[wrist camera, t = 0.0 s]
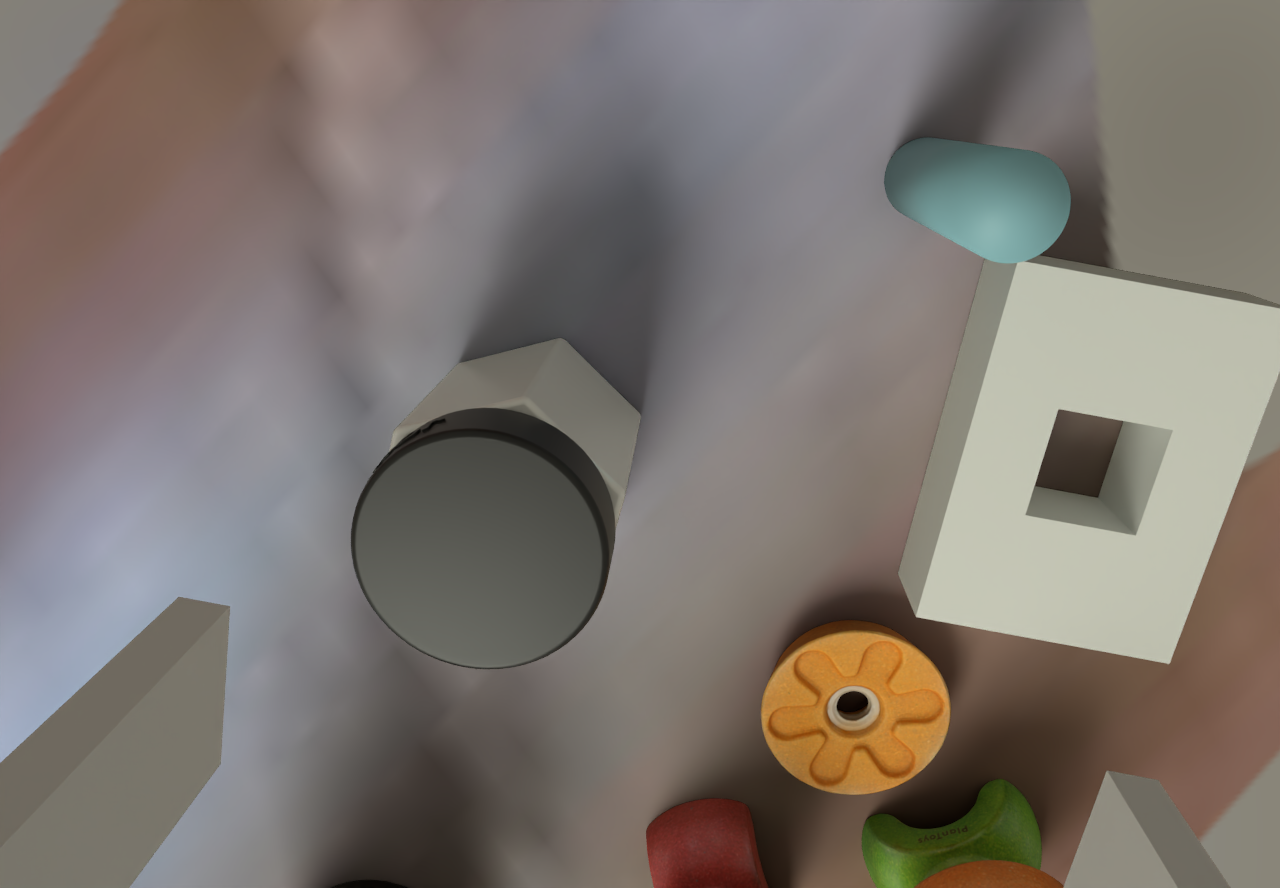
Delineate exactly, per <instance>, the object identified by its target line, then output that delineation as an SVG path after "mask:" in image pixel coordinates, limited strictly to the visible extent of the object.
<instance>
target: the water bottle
mask: <svg viewBox="0 0 1280 888" xmlns="http://www.w3.org/2000/svg"><path fill="white" fill-rule="evenodd" d="M332 888H406V887H403V886H400V885H397V884H393V883H389V882H383V881H373V880H363V881H353V882H348V883H344V884H340V885H337V886H335V887H332Z"/></svg>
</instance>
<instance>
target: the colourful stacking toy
mask: <svg viewBox="0 0 1280 888" xmlns="http://www.w3.org/2000/svg"><path fill="white" fill-rule="evenodd" d="M850 691H857V692H860V693H862V694H864V695H865V696H866V697H867V699H868V705H867V706H865V707H864V708H862V709H860V710H858V711H855V712H844V711H840V710H838V709H837V702H838V700H839V698H840V697H841V695H843V694H844V693H847V692H850ZM950 716H951V702H950V698H949V693H948V689H947V686H946V683H945V681H944V679H943V677H942V675H941V673H940V672H939V670H938V669H937V667H936V666H935V665H934V663H933V662H932V661H931V660H930V659H929V658H928V657H927V656H926V655H925V654H924V653H923V652H921V651H920V650H919V649H918V648H917V647H915V646H914V645H913V644H912V643H910V642H909V641H908V640H907V639H906V638H904V637H903V636H902V635H900V634H899V633H897V632H895V631H893V630H892V629H890V628H888V627H885V626H882V625H879V624H876V623H872V622H867V621H859V620H842V621H835V622H831V623H827V624H824V625H821V626H819V627H816V628H813V629H811V630H810V631H808V632H806V633H805V634H803V635H802V636H800V637H799V638H797V639H796V640H795V641H794V642H793V643H792V644H791V645H790V646H789V647H788V648H787V649H786V650H785V651H784V653H783V654H782V655H781V657H780V658H779V660H778V662H777V664H776V666H775V668H774V670H773V672H772V675H771V677H770V679H769V682H768V684H767V686H766V689H765V692H764V695H763V699H762V705H761V722H762V730H763V733H764V736H765V739H766V742H767V744H768V746H769V748H770V750H771V751H772V753H773V754H774V756H775V757H776V759H777V760H778V761H779V763H780V764H781V765H782V766H783V767H784V768H785V769H786V770H787V771H788V772H789V773H791V774H792V775H793V776H795V777H796V778H797V779H799V780H801V781H802V782H804V783H806V784H808V785H810V786H812V787H815V788H817V789H820V790H823V791H827V792H831V793H837V794H848V795H860V794H871V793H876V792H880V791H884V790H887V789H890V788H893V787H896V786H898V785H900V784H902V783H904V782H906V781H908V780H910V779H911V778H913V777H914V776H915V775H917V774H918V773H919V772H920V771H921V770H923V769H924V768H925V767H926V766H927V765H928V764H929V763H930V762H931V761H932V759H933V758H934V757H935V756H936V754H937V753H938V751H939V750H940V748H941V746H942V745H943V742H944V740H945V737H946V735H947V732H948V729H949V724H950ZM646 839H647V852H648V859H649V865H650V871H651V876H652V880H653V885H654V888H768V885H767V882H766V880H765V877H764V874H763V870H762V866H761V863H760V859H759V854H758V850H757V846H756V839H755V833H754V827H753V822H752V818H751V814H750V811H749V808H748V807H747V805H746V804H744V803H742V802H739V801H735V800H730V799H719V798H711V799H700V800H695V801H690V802H687V803H683V804H681V805H678V806H676V807H673V808H671V809H670V810H668V811H666V812H664V813H663V814H661V815H660V816H659V817H657V818H656V819H655V820H654V821H653V822H652V823H651V824H650V825H649V826H648V828H647V831H646ZM862 851H863V856H864V860H865V863H866V866H867V869H868V871H869V874H870V876H871V878H872V880H873V882H874V883H875V885H876V887H877V888H1063V887H1064V886H1063V885H1062V884H1061V883H1060V882H1059V881H1057V880H1056V879H1054V878H1053V877H1051V876H1050V875H1048V874H1047V873H1045V872H1043V871H1040V867H1041V855H1042V848H1041V837H1040V832H1039V827H1038V824H1037V821H1036V818H1035V816H1034V813H1033V810H1032V808H1031V806H1030V805H1029V803H1028V802H1027V800H1026V799H1025V797H1024V796H1023V795H1022V794H1021V793H1020V791H1019V790H1018V789H1016V788H1015V787H1014V786H1013V785H1012V784H1011V783H1009V782H1008V781H1006V780H1003V779H996V780H993V781H990V782H988V783H987V784H986V785H984V787H983V788H982V789H981V790H980V792H979V794H978V798H977V801H976V804H975V805H974V806H973V808H972V809H971V810H970V812H969V813H968V814H966V815H965V816H964V817H963V818H961V819H959V820H958V821H956V822H954V823H952V824H950V825H947V826H944V827H940V828H933V829H917V828H912V827H909V826H907V825H905V824H903V823H902V822H900V821H899V820H898V819H896V818H895V817H894V816H891V815H888V814H877V815H873V816H871V817H870V818H868V819H867V820H866V822H865V824H864V828H863V833H862Z"/></svg>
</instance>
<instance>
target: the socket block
mask: <svg viewBox="0 0 1280 888" xmlns="http://www.w3.org/2000/svg"><path fill="white" fill-rule="evenodd" d="M1279 372H1280V305H1278V304H1276V303H1273V302H1270V301H1267V300H1263V299H1261V298H1258V297H1255V296H1252V295H1249V294H1246V293H1241V292H1236V291H1231V290H1226V289H1220V288H1215V287H1210V286H1204V285H1198V284H1193V283H1187V282H1182V281H1177V280H1171V279H1166V278H1160V277H1155V276H1150V275H1144V274H1138V273H1133V272H1128V271H1123V270H1117V269H1112V268H1106V267H1101V266H1095V265H1090V264H1085V263H1079V262H1074V261H1068V260H1063V259H1057V258H1052V257H1047V256H1041V255H1038V256H1036V257H1034V258H1032V259H1029V260H1027V261H1023V262H1019V263H997V262H993V261H990V260H988V259H985V260H984V264H983V267H982V271H981V274H980V278H979V282H978V285H977V289H976V293H975V296H974V300H973V303H972V307H971V311H970V314H969V318H968V321H967V325H966V329H965V332H964V336H963V340H962V343H961V347H960V350H959V354H958V358H957V361H956V365H955V369H954V372H953V376H952V379H951V383H950V387H949V390H948V394H947V397H946V401H945V405H944V408H943V412H942V416H941V419H940V423H939V426H938V430H937V434H936V437H935V441H934V444H933V448H932V452H931V455H930V459H929V463H928V466H927V470H926V473H925V477H924V481H923V484H922V488H921V491H920V495H919V499H918V502H917V506H916V510H915V513H914V517H913V520H912V524H911V528H910V531H909V535H908V538H907V542H906V546H905V549H904V553H903V557H902V560H901V564H900V567H899V571H898V575H899V578H900V580H901V582H902V585H903V587H904V590H905V592H906V595H907V597H908V599H909V602H910V604H911V607H912V609H913V611H914V614H915V616H916V617H919V618H924V619H929V620H935V621H940V622H946V623H951V624H956V625H962V626H967V627H973V628H978V629H983V630H989V631H994V632H1000V633H1005V634H1011V635H1016V636H1021V637H1027V638H1032V639H1038V640H1043V641H1048V642H1054V643H1059V644H1065V645H1070V646H1075V647H1081V648H1086V649H1092V650H1097V651H1103V652H1108V653H1113V654H1119V655H1124V656H1130V657H1135V658H1140V659H1146V660H1151V661H1157V662H1162V663H1167V664H1170V661H1171V658H1172V656H1173V653H1174V650H1175V648H1176V645H1177V642H1178V640H1179V637H1180V634H1181V632H1182V629H1183V626H1184V624H1185V621H1186V619H1187V616H1188V613H1189V611H1190V608H1191V605H1192V603H1193V600H1194V597H1195V595H1196V592H1197V589H1198V587H1199V584H1200V581H1201V579H1202V576H1203V573H1204V571H1205V568H1206V565H1207V563H1208V560H1209V558H1210V555H1211V552H1212V550H1213V547H1214V544H1215V542H1216V539H1217V536H1218V534H1219V531H1220V528H1221V526H1222V523H1223V520H1224V518H1225V515H1226V512H1227V510H1228V507H1229V505H1230V502H1231V499H1232V497H1233V494H1234V491H1235V489H1236V486H1237V483H1238V481H1239V478H1240V475H1241V473H1242V470H1243V467H1244V465H1245V462H1246V459H1247V457H1248V454H1249V451H1250V448H1251V446H1252V444H1253V441H1254V438H1255V435H1256V433H1257V430H1258V427H1259V425H1260V422H1261V420H1262V417H1263V414H1264V412H1265V409H1266V406H1267V404H1268V401H1269V398H1270V396H1271V393H1272V390H1273V388H1274V385H1275V382H1276V380H1277V377H1278V375H1279ZM1058 409H1061V410H1067V411H1072V412H1078V413H1083V414H1089V415H1094V416H1099V417H1105V418H1110V419H1116V420H1121V421H1123V424H1122V427H1121V430H1120V433H1119V436H1118V439H1117V442H1116V445H1115V448H1114V451H1113V454H1112V457H1111V460H1110V463H1109V466H1108V469H1107V472H1106V475H1105V478H1104V481H1103V484H1102V487H1101V490H1100V493H1099V496H1098V498H1096V497H1091V496H1085V495H1080V494H1075V493H1069V492H1064V491H1058V490H1053V489H1048V488H1042V487H1037V486H1035V483H1036V480H1037V476H1038V473H1039V470H1040V467H1041V464H1042V460H1043V457H1044V454H1045V451H1046V448H1047V444H1048V441H1049V438H1050V435H1051V432H1052V428H1053V425H1054V422H1055V419H1056V416H1057V412H1058Z"/></svg>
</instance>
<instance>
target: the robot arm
mask: <svg viewBox="0 0 1280 888" xmlns="http://www.w3.org/2000/svg"><path fill="white" fill-rule="evenodd" d="M229 615H230V606H225V605H220V604H214V603H209V602H204V601H198V600H193V599H188V598H182V597H178V598H177V599H176V600H175V601H174V602H173V603H172V604H171V605H170V606H169V607H167V608H166V609H165V610H164V611H163V612H162V613H161V614H160V615H159V616H158V617H157V618H156V619H155V620H154V621H152V622H151V623H150V624H149V625H148V626H147V627H146V628H145V629H144V630H143V631H142V632H141V633H140V634H138V635H137V636H136V637H135V638H134V639H133V640H132V641H131V642H130V643H129V644H128V645H127V646H126V647H125V648H123V649H122V650H121V651H120V652H119V653H118V654H117V655H116V656H115V657H114V658H113V659H112V660H111V661H109V662H108V663H107V664H106V665H105V666H104V667H103V668H102V669H101V670H100V671H99V672H98V673H97V674H96V675H94V676H93V677H92V678H91V679H90V680H89V681H88V682H87V683H86V684H85V685H84V686H83V687H82V688H81V689H79V690H78V691H77V692H76V693H75V694H74V695H73V696H72V697H71V698H70V699H69V700H68V701H67V702H65V703H64V704H63V705H62V706H61V707H60V708H59V709H58V710H57V711H56V712H55V713H54V714H53V715H52V716H50V717H49V718H48V719H47V720H46V721H45V722H44V723H43V724H42V725H41V726H40V727H39V728H38V729H36V730H35V731H34V732H33V733H32V734H31V735H30V736H29V737H28V738H27V739H26V740H25V741H24V742H23V743H21V744H20V745H19V746H18V747H17V748H16V749H15V750H14V751H13V752H12V753H11V754H10V755H9V756H7V757H6V758H5V759H4V760H3V761H2V762H1V763H0V888H129V887H130V886H131V885H132V883H133V882H134V881H135V879H136V878H137V876H138V875H139V874H140V872H141V871H142V870H143V868H144V867H145V866H146V864H147V863H148V862H149V860H150V859H151V857H152V856H153V855H154V853H155V852H156V851H157V849H158V848H159V847H160V845H161V844H162V843H163V841H164V840H165V838H166V837H167V836H168V834H169V833H170V832H171V830H172V829H173V828H174V826H175V825H176V824H177V822H178V821H179V819H180V818H181V817H182V815H183V814H184V813H185V811H186V810H187V809H188V807H189V806H190V805H191V803H192V802H193V800H194V799H195V798H196V796H197V795H198V794H199V792H200V791H201V790H202V788H203V787H204V786H205V784H206V783H207V781H208V780H209V779H210V777H211V776H212V775H213V773H214V772H215V771H216V769H217V768H218V767H219V765H220V764H221V749H222V732H223V715H224V698H225V682H226V665H227V648H228V631H229ZM1063 888H1230V886H1229V885H1228V883H1227V882H1226V880H1225V879H1224V877H1223V876H1222V874H1221V873H1220V871H1219V870H1218V868H1217V867H1216V865H1215V864H1214V862H1213V861H1212V860H1211V858H1210V856H1209V855H1208V854H1207V852H1206V850H1205V849H1204V847H1203V846H1202V845H1201V843H1200V842H1199V840H1198V839H1197V837H1196V836H1195V834H1194V833H1193V831H1192V830H1191V828H1190V827H1189V825H1188V824H1187V822H1186V821H1185V819H1184V818H1183V816H1182V815H1181V813H1180V812H1179V810H1178V809H1177V807H1176V806H1175V804H1174V803H1173V801H1172V800H1171V798H1170V797H1169V796H1168V794H1167V793H1166V791H1165V790H1164V788H1163V787H1162V785H1161V784H1160V782H1159V781H1158V780H1155V779H1149V778H1144V777H1139V776H1133V775H1128V774H1123V773H1117V772H1112V771H1107V772H1106V774H1105V777H1104V780H1103V782H1102V785H1101V788H1100V790H1099V793H1098V796H1097V799H1096V801H1095V804H1094V807H1093V809H1092V812H1091V815H1090V817H1089V820H1088V823H1087V825H1086V828H1085V831H1084V833H1083V836H1082V839H1081V842H1080V844H1079V847H1078V850H1077V852H1076V855H1075V858H1074V860H1073V863H1072V866H1071V868H1070V871H1069V874H1068V876H1067V879H1066V882H1065V885H1064V887H1063Z"/></svg>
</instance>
